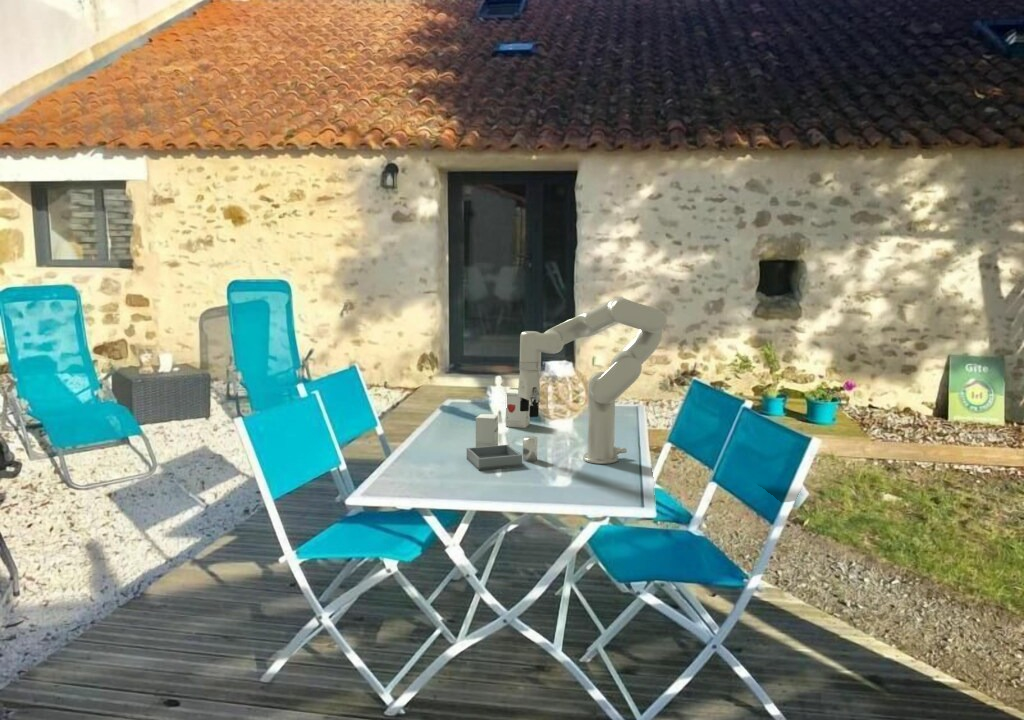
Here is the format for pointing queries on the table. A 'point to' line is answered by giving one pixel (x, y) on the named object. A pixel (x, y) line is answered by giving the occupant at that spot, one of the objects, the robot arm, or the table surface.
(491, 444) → the supplement box
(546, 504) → the table surface
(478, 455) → the tray
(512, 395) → the supplement box
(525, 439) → the tin can
